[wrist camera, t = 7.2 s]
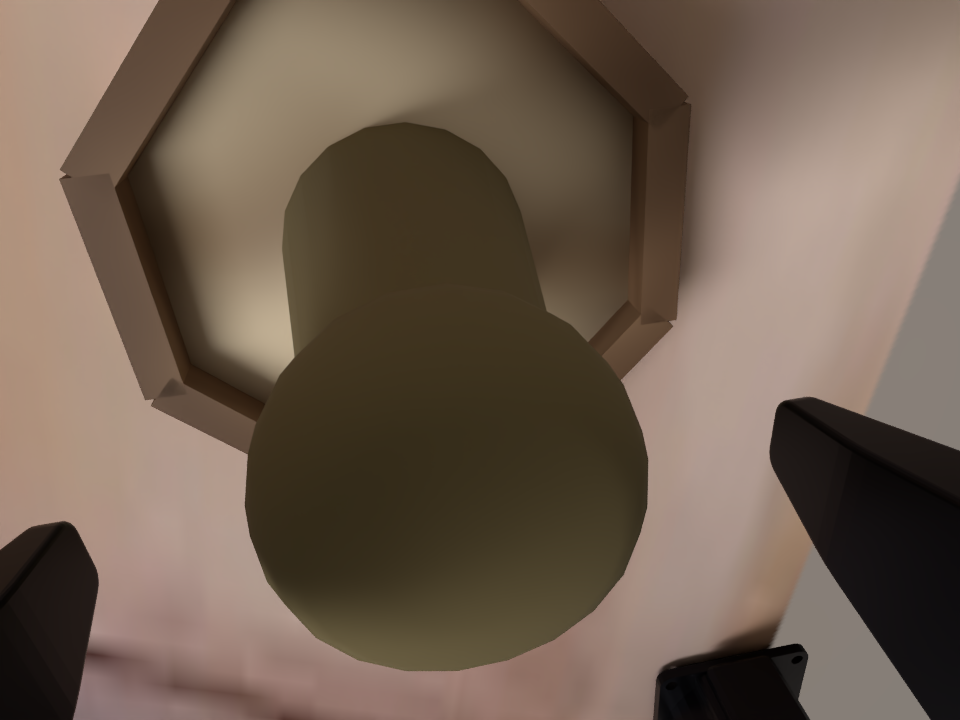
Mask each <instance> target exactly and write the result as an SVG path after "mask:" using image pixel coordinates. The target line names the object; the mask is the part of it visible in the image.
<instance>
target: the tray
mask: <svg viewBox="0 0 960 720" xmlns="http://www.w3.org/2000/svg"><path fill="white" fill-rule="evenodd" d="M687 97H688V95H687V94H686V93H685V92H684V91H683V90H682V89H681V88H680V87H679V86H678V85H677V83H676V82H675V81H674V80H673V79H672V78H671V77H670V76H669V75H668V74H667V73H666V72H665V71H664V70H663V68H662V67H661V66H660V65H659V64H658V63H657V62H656V61H655V60H654V59H653V58H652V57H651V56H650V55H649V53H648V52H647V51H646V50H645V49H644V48H643V47H642V46H641V45H640V44H639V43H638V42H637V41H636V40H635V38H634V37H633V36H632V35H631V34H630V33H629V32H628V31H627V30H626V29H625V28H624V27H623V26H622V25H621V23H620V22H619V21H618V20H617V19H616V18H615V17H614V16H613V15H612V14H611V13H610V12H609V11H608V10H607V8H606V7H605V6H604V5H603V4H602V3H601V2H600V1H599V0H159V1H158V3H157V5H156V6H155V8H154V10H153V11H152V13H151V15H150V17H149V18H148V20H147V22H146V23H145V25H144V27H143V29H142V30H141V32H140V34H139V35H138V37H137V39H136V40H135V42H134V44H133V46H132V47H131V49H130V51H129V52H128V54H127V56H126V58H125V59H124V61H123V63H122V64H121V66H120V68H119V70H118V71H117V73H116V75H115V76H114V78H113V80H112V81H111V83H110V85H109V87H108V88H107V90H106V92H105V93H104V95H103V97H102V99H101V100H100V102H99V104H98V105H97V107H96V109H95V111H94V112H93V114H92V116H91V117H90V119H89V121H88V123H87V124H86V126H85V128H84V129H83V131H82V133H81V134H80V136H79V138H78V140H77V141H76V143H75V145H74V146H73V148H72V150H71V152H70V153H69V155H68V157H67V158H66V160H65V162H64V164H63V165H62V167H61V169H60V170H61V171H62V172H64V173H66V175H65V176H63V177H62V178H60V179H59V180H60V182H61V185H62V187H63V190H64V192H65V195H66V198H67V200H68V203H69V205H70V208H71V210H72V213H73V216H74V218H75V221H76V223H77V226H78V228H79V231H80V234H81V236H82V239H83V241H84V244H85V246H86V249H87V252H88V254H89V257H90V259H91V262H92V264H93V267H94V270H95V272H96V275H97V277H98V280H99V283H100V285H101V288H102V290H103V293H104V295H105V298H106V301H107V303H108V306H109V308H110V311H111V313H112V316H113V319H114V321H115V324H116V326H117V329H118V331H119V334H120V337H121V339H122V342H123V344H124V347H125V349H126V352H127V355H128V357H129V360H130V362H131V365H132V367H133V370H134V373H135V375H136V378H137V380H138V383H139V385H140V388H141V391H142V393H143V396H144V398H145V400H151V399H154V400H153V403H152V405H151V406H152V407H154V408H156V409H158V410H160V411H162V412H164V413H166V414H168V415H170V416H172V417H174V418H176V419H178V420H180V421H182V422H184V423H186V424H188V425H190V426H192V427H194V428H196V429H198V430H200V431H202V432H204V433H206V434H208V435H210V436H212V437H214V438H216V439H218V440H220V441H222V442H224V443H226V444H228V445H230V446H232V447H234V448H236V449H238V450H240V451H242V452H244V453H246V454H248V451H249V447H250V443H251V439H252V435H253V432H254V428H255V424H256V422H257V420H258V418H259V416H260V414H261V412H262V410H263V408H264V406H265V404H266V402H267V400H268V398H269V396H270V394H271V392H272V390H273V388H274V386H275V384H276V382H277V379H278V377H279V375H280V374H281V373H282V371H283V370H284V369H285V368H286V367H287V366H288V364H289V363H290V362H291V361H292V360H293V358H294V348H293V340H292V331H291V323H290V314H289V305H288V297H287V288H286V280H285V271H284V263H283V254H282V240H283V227H284V213H285V209H286V207H287V205H288V202H289V200H290V198H291V196H292V193H293V191H294V189H295V187H296V184H297V182H298V180H299V178H300V175H301V174H302V173H303V172H304V171H305V170H306V169H307V168H308V167H309V166H310V165H311V164H312V163H313V162H314V161H315V160H316V159H317V158H318V157H319V156H320V154H321V153H322V152H323V151H324V150H325V149H326V148H327V147H328V146H330V145H332V144H334V143H336V142H338V141H340V140H342V139H344V138H346V137H348V136H350V135H352V134H354V133H355V132H357V131H359V130H361V129H363V128H367V127H374V126H381V125H388V124H395V123H402V122H408V123H414V124H419V125H424V126H430V127H435V128H440V129H446V130H448V131H449V132H451V133H453V134H455V135H456V136H458V137H460V138H462V139H464V140H465V141H467V142H469V143H471V144H473V145H474V146H476V147H478V148H480V149H481V150H482V151H483V152H484V153H485V155H486V156H487V157H488V158H489V159H490V160H491V161H492V162H493V163H494V165H495V166H496V167H497V168H498V169H499V170H500V171H501V172H502V173H503V174H504V176H505V177H506V178H507V181H508V183H509V185H510V188H511V190H512V192H513V195H514V197H515V199H516V202H517V204H518V206H519V209H520V211H521V215H522V218H523V222H524V226H525V230H526V234H527V237H528V241H529V245H530V249H531V253H532V256H533V260H534V264H535V268H536V272H537V275H538V279H539V283H540V287H541V291H542V294H543V298H544V302H545V306H546V310H547V312H549V313H551V314H553V315H555V316H557V317H558V318H560V319H562V320H564V321H565V322H567V323H569V324H571V325H572V326H573V327H574V328H575V329H576V330H577V331H578V332H579V334H580V335H581V336H582V337H583V338H584V339H585V340H586V341H587V342H588V343H589V344H590V345H591V346H592V347H593V348H594V349H595V350H596V351H597V352H598V353H599V354H600V355H601V356H602V357H603V358H604V359H605V360H606V361H607V362H608V364H609V365H610V366H611V368H612V369H613V371H614V372H615V373H616V375H617V376H618V378H619V379H620V380H621V379H622V378H623V377H624V376H625V375H626V374H627V373H628V372H629V371H630V370H631V369H632V368H633V367H634V366H635V365H636V364H637V363H638V362H639V361H640V360H641V359H642V358H643V357H644V356H645V355H646V354H647V353H648V352H649V351H650V350H651V349H652V347H653V346H654V345H655V344H656V343H657V342H658V341H659V340H660V339H661V338H662V337H663V336H664V335H665V334H666V333H667V332H668V331H669V330H670V329H671V328H672V327H673V326H672V324H671V323H670V322H669V321H672V320H676V318H677V303H678V289H679V274H680V260H681V245H682V230H683V216H684V201H685V187H686V172H687V157H688V143H689V128H690V114H691V104H688V103H686V102H684V101H685V100H686V99H687Z"/></svg>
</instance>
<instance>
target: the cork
mask: <svg viewBox="0 0 960 720" xmlns="http://www.w3.org/2000/svg"><path fill="white" fill-rule="evenodd" d="M282 254H283V263H284V271H285V280H286V288H287V297H288V305H289V314H290V323H291V331H292V340H293V348H294V358H293V360H292V361H291V362H290V363H289V364H288V366H287V367H286V368H285V369H284V370H283V371H282V373H281V374H280V375H279V377H278V379H277V382H276V384H275V386H274V388H273V390H272V392H271V394H270V396H269V398H268V400H267V402H266V404H265V406H264V408H263V410H262V412H261V414H260V416H259V418H258V420H257V422H256V424H255V428H254V432H253V435H252V439H251V443H250V447H249V451H248V461H247V478H246V495H245V510H246V516H247V522H248V527H249V533H250V537H251V540H252V543H253V545H254V548H255V551H256V553H257V556H258V559H259V561H260V564H261V567H262V569H263V572H264V575H265V577H266V580H267V582H268V583H269V585H270V586H271V587H272V589H273V590H274V591H275V592H276V594H277V595H278V596H279V597H280V599H281V600H282V601H283V603H284V604H285V605H286V606H287V607H288V608H289V609H290V610H291V612H292V613H293V614H294V615H295V616H296V617H297V618H298V619H299V620H300V621H301V622H302V623H303V624H304V625H305V627H306V628H307V629H308V630H309V631H310V632H311V633H312V634H313V635H314V636H315V637H316V638H317V639H319V640H321V641H323V642H325V643H327V644H329V645H330V646H332V647H334V648H336V649H338V650H340V651H342V652H344V653H345V654H347V655H349V656H351V657H353V658H355V659H357V660H360V661H364V662H368V663H373V664H377V665H382V666H386V667H390V668H395V669H399V670H404V671H459V670H464V669H469V668H473V667H478V666H483V665H487V664H492V663H497V662H501V661H506V660H509V659H512V658H514V657H516V656H518V655H521V654H523V653H525V652H527V651H530V650H532V649H534V648H537V647H539V646H541V645H543V644H546V643H548V642H550V641H553V640H555V639H556V638H557V637H559V636H560V635H561V634H563V633H564V632H566V631H567V630H568V629H570V628H571V627H572V626H574V625H575V624H576V623H578V622H579V621H581V620H582V619H583V618H585V617H586V616H587V615H589V614H590V613H591V612H593V611H594V610H595V609H596V608H597V606H598V605H599V604H600V603H601V601H602V600H603V599H604V598H605V597H606V595H607V594H608V593H609V592H610V591H611V589H612V588H613V587H614V586H615V584H616V583H617V582H618V581H619V580H620V578H621V577H622V576H623V575H624V572H625V570H626V567H627V565H628V562H629V560H630V557H631V555H632V552H633V550H634V547H635V545H636V542H637V540H638V537H639V535H640V532H641V528H642V524H643V521H644V517H645V513H646V510H647V495H648V457H647V452H646V447H645V442H644V437H643V433H642V430H641V427H640V425H639V422H638V420H637V417H636V415H635V412H634V410H633V407H632V405H631V402H630V400H629V397H628V395H627V392H626V390H625V387H624V385H623V383H622V382H621V381H620V379H619V378H618V376H617V375H616V373H615V372H614V371H613V369H612V368H611V366H610V365H609V364H608V362H607V361H606V360H605V359H604V358H603V357H602V356H601V355H600V354H599V353H598V352H597V351H596V350H595V349H594V348H593V347H592V346H591V345H590V344H589V343H588V342H587V341H586V340H585V339H584V338H583V337H582V336H581V335H580V334H579V332H578V331H577V330H576V329H575V328H574V327H573V326H572V325H571V324H569V323H567V322H565V321H564V320H562V319H560V318H558V317H557V316H555V315H553V314H551V313H549V312H547V310H546V306H545V302H544V298H543V294H542V291H541V287H540V283H539V279H538V275H537V272H536V268H535V264H534V260H533V256H532V253H531V249H530V245H529V241H528V237H527V234H526V230H525V226H524V222H523V218H522V215H521V211H520V209H519V206H518V204H517V202H516V199H515V197H514V195H513V192H512V190H511V188H510V185H509V183H508V181H507V178H506V177H505V176H504V174H503V173H502V172H501V171H500V170H499V169H498V168H497V167H496V166H495V165H494V163H493V162H492V161H491V160H490V159H489V158H488V157H487V156H486V155H485V153H484V152H483V151H482V150H481V149H480V148H478V147H476V146H474V145H473V144H471V143H469V142H467V141H465V140H464V139H462V138H460V137H458V136H456V135H455V134H453V133H451V132H449V131H448V130H446V129H440V128H435V127H430V126H424V125H419V124H414V123H408V122H402V123H395V124H388V125H381V126H374V127H367V128H363V129H361V130H359V131H357V132H355V133H354V134H352V135H350V136H348V137H346V138H344V139H342V140H340V141H338V142H336V143H334V144H332V145H330V146H328V147H327V148H326V149H325V150H324V151H323V152H322V153H321V154H320V156H319V157H318V158H317V159H316V160H315V161H314V162H313V163H312V164H311V165H310V166H309V167H308V168H307V169H306V170H305V171H304V172H303V173H302V174H301V175H300V178H299V180H298V182H297V184H296V187H295V189H294V191H293V193H292V196H291V198H290V200H289V202H288V205H287V207H286V209H285V213H284V227H283V240H282Z"/></svg>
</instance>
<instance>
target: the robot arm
mask: <svg viewBox="0 0 960 720" xmlns="http://www.w3.org/2000/svg"><path fill="white" fill-rule="evenodd" d="M769 453H770V461H771V464H772V467H773V469H774V471H775V473H776V475H777V477H778V479H779V481H780V483H781V484H782V486H783V488H784V490H785V492H786V494H787V496H788V497H789V499H790V501H791V503H792V505H793V507H794V509H795V511H796V512H797V514H798V516H799V518H800V520H801V522H802V524H803V525H804V527H805V529H806V531H807V533H808V535H809V537H810V538H811V540H812V542H813V544H814V546H815V548H816V549H817V551H818V553H819V555H820V556H821V558H822V560H823V561H824V563H825V565H826V566H827V568H828V569H829V571H830V572H831V574H832V576H833V577H834V579H835V580H836V582H837V583H838V584H839V586H840V587H841V589H842V590H843V592H844V593H845V595H846V596H847V598H848V599H849V601H850V602H851V603H852V605H853V607H854V608H855V610H856V611H857V612H858V614H859V615H860V617H861V618H862V620H863V621H864V623H865V624H866V626H867V627H868V628H869V630H870V631H871V633H872V634H873V636H874V637H875V639H876V640H877V642H878V643H879V645H880V646H881V648H882V649H883V650H884V652H885V653H886V655H887V656H888V658H889V659H890V661H891V662H892V664H893V665H894V666H895V668H896V669H897V671H898V672H899V674H900V675H901V677H902V678H903V680H904V681H905V683H906V684H907V686H908V687H909V689H910V690H911V692H912V693H913V694H914V696H915V697H916V699H917V700H918V702H919V703H920V705H921V706H922V708H923V709H924V711H925V712H926V713H927V715H928V716H929V718H930V719H931V720H960V451H959V450H956V449H954V448H951V447H948V446H945V445H943V444H940V443H937V442H935V441H932V440H929V439H926V438H924V437H921V436H918V435H915V434H912V433H910V432H907V431H904V430H902V429H899V428H896V427H894V426H891V425H888V424H885V423H882V422H880V421H877V420H874V419H871V418H869V417H866V416H863V415H861V414H858V413H855V412H853V411H850V410H847V409H844V408H842V407H839V406H836V405H833V404H831V403H828V402H825V401H822V400H820V399H817V398H814V397H803V398H797V399H791V400H785V401H783V402H781V403H780V404H779V405H778V407H777V409H776V413H775V419H774V425H773V431H772V437H771V443H770V451H769ZM98 587H99V580H98V573H97V570H96V567H95V565H94V563H93V561H92V559H91V557H90V555H89V553H88V551H87V549H86V547H85V545H84V543H83V541H82V539H81V537H80V535H79V533H78V531H77V530H76V528H75V527H74V526H73V525H72V524H71V523H69V522H65V521H61V522H55V523H49V524H43V525H37V526H33V527H31V528H29V529H27V530H26V531H24V532H23V533H22V534H20V535H19V536H18V537H17V538H15V539H14V540H13V541H11V542H10V543H9V544H7V545H6V546H5V547H3V548H2V549H1V550H0V720H73V716H74V713H75V709H76V704H77V700H78V695H79V691H80V685H81V680H82V675H83V669H84V664H85V658H86V653H87V648H88V642H89V637H90V631H91V626H92V621H93V615H94V610H95V604H96V599H97V594H98ZM807 660H808V654H807V652H806V651H805V649H804V648H803V646H802V645H800V644H791V645H786V646H781V647H776V648H771V649H766V650H762V651H757V652H752V653H747V654H742V655H737V656H732V657H728V658H723V659H718V660H713V661H708V662H703V663H698V664H694V665H689V666H684V667H679V668H674V669H669V670H666V671H663V672H662V673H660V674H659V675H658V676H657V679H656V689H655V703H654V716H653V720H810V719H809V717H808V715H807V714H806V712H805V710H804V709H803V707H802V706H801V704H800V702H799V701H798V697H799V693H800V689H801V685H802V681H803V677H804V673H805V669H806V665H807Z"/></svg>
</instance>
